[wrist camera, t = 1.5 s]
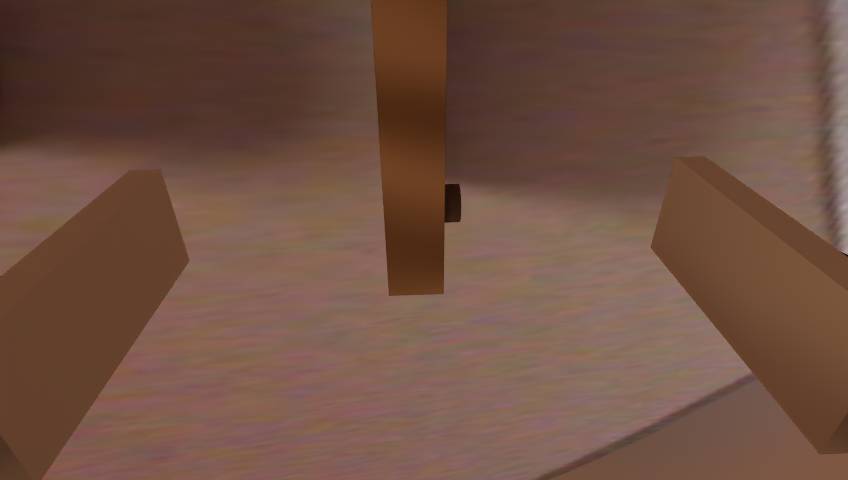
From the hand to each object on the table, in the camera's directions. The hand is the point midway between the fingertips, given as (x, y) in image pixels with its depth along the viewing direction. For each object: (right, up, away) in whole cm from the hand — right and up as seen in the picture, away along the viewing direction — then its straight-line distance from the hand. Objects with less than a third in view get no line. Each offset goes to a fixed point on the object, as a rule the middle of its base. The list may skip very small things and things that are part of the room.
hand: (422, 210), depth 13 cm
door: (-1, +13, +22) cm, 26 cm away
